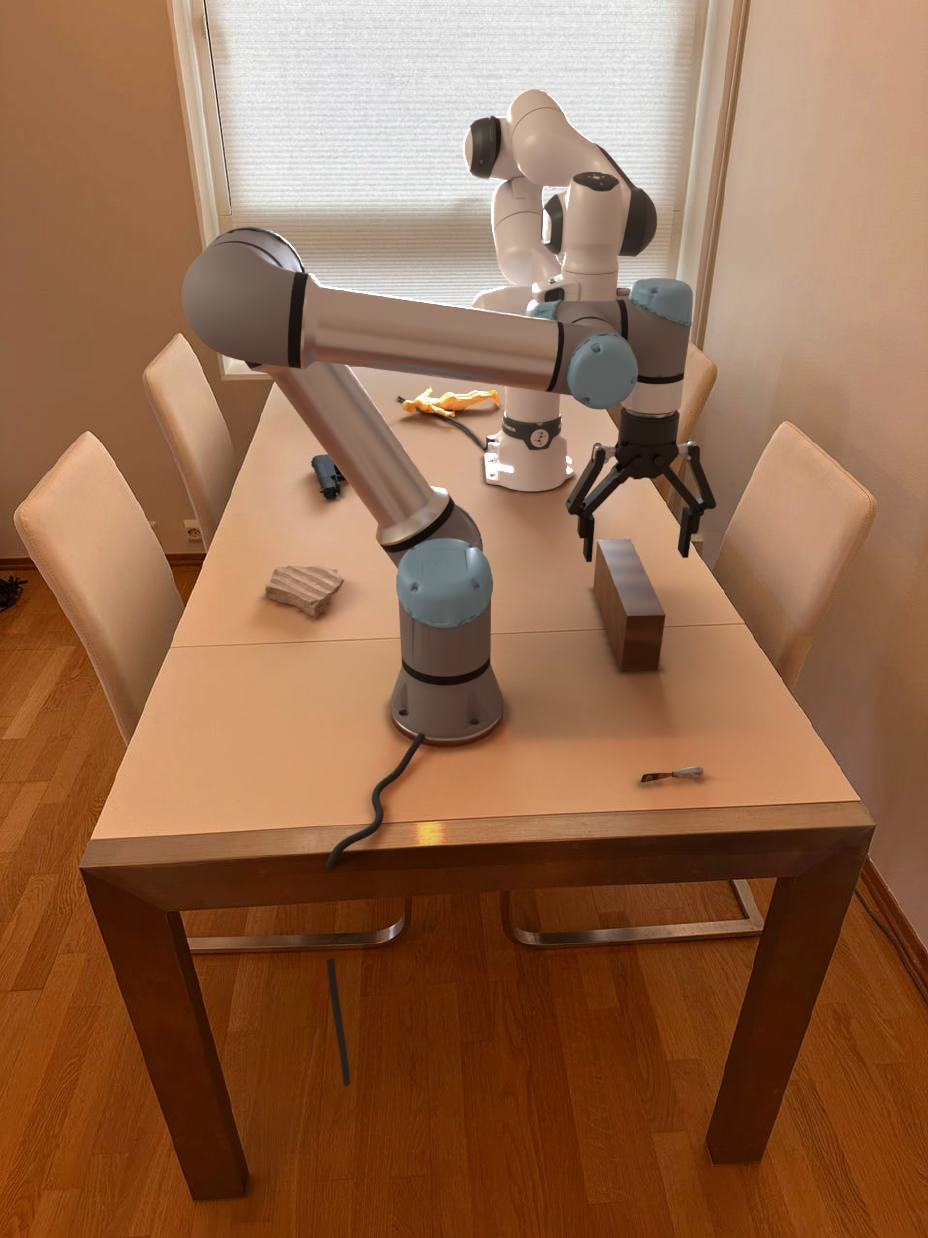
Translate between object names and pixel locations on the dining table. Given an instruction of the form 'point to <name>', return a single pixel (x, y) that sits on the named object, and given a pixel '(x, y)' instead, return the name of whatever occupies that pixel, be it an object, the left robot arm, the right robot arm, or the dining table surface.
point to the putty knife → (674, 774)
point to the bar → (628, 605)
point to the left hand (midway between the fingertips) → (635, 555)
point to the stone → (304, 587)
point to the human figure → (448, 402)
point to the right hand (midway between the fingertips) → (582, 375)
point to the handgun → (327, 475)
